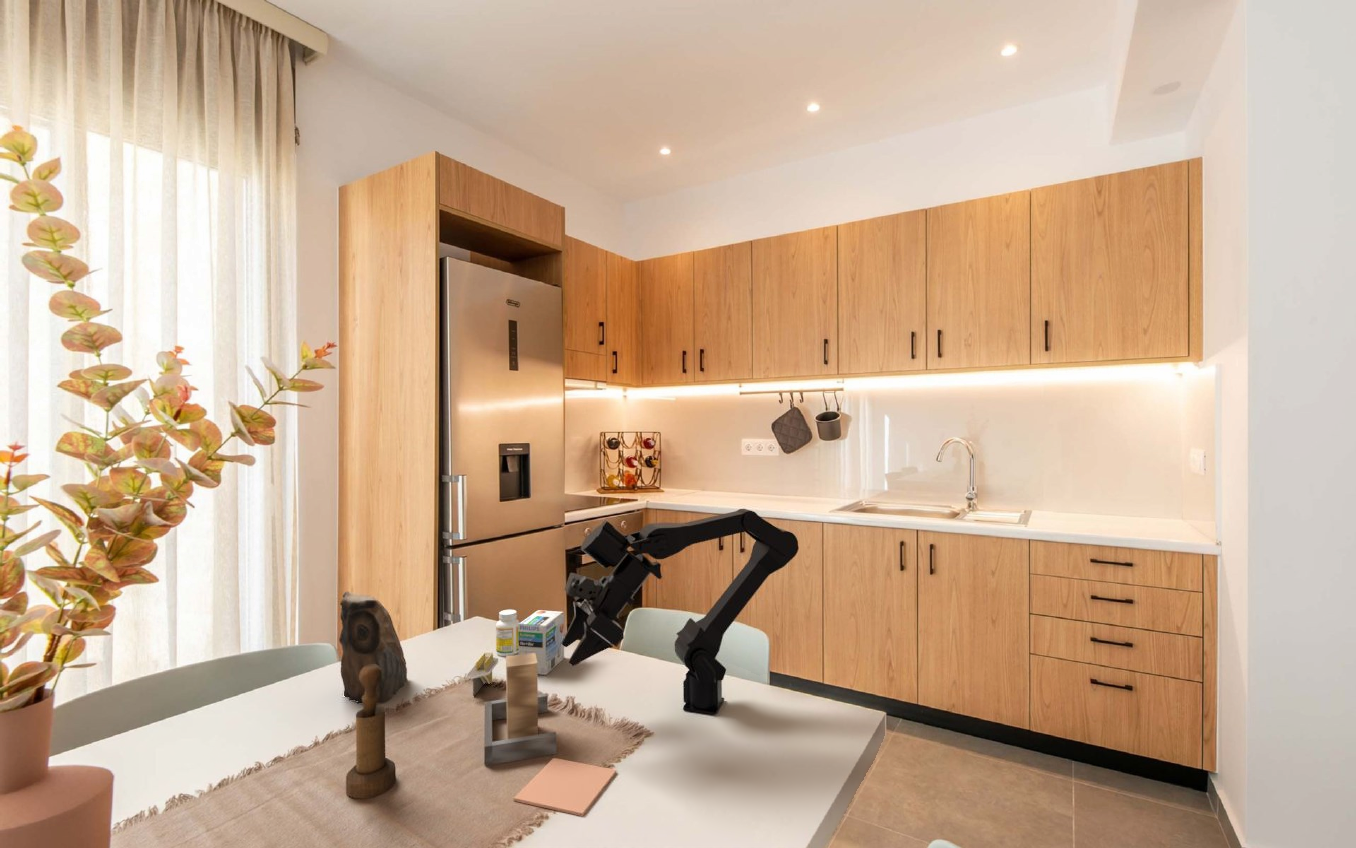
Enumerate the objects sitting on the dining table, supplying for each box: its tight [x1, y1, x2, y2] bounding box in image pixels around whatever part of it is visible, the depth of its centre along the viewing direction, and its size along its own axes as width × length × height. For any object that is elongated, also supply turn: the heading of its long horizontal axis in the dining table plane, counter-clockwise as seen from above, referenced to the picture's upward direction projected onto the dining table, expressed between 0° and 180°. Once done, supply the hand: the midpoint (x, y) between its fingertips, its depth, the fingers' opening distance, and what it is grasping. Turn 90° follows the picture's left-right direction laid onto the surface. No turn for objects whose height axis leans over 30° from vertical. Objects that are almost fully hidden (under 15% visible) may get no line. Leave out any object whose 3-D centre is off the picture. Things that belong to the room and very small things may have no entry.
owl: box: [338, 591, 408, 705], centre depth 123 cm, size 13×13×20 cm
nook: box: [483, 693, 557, 767], centre depth 105 cm, size 11×16×3 cm
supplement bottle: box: [495, 609, 520, 657], centre depth 144 cm, size 5×5×10 cm
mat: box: [513, 757, 617, 817], centre depth 90 cm, size 11×11×1 cm
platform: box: [466, 652, 499, 697], centre depth 124 cm, size 12×18×7 cm, turn 0°
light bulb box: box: [518, 609, 565, 676], centre depth 136 cm, size 11×7×11 cm, turn 169°
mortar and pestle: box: [345, 664, 397, 800], centre depth 91 cm, size 7×6×18 cm
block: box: [505, 653, 539, 740], centre depth 105 cm, size 5×5×13 cm
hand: (566, 654), depth 108 cm, fingers open, 9 cm apart
